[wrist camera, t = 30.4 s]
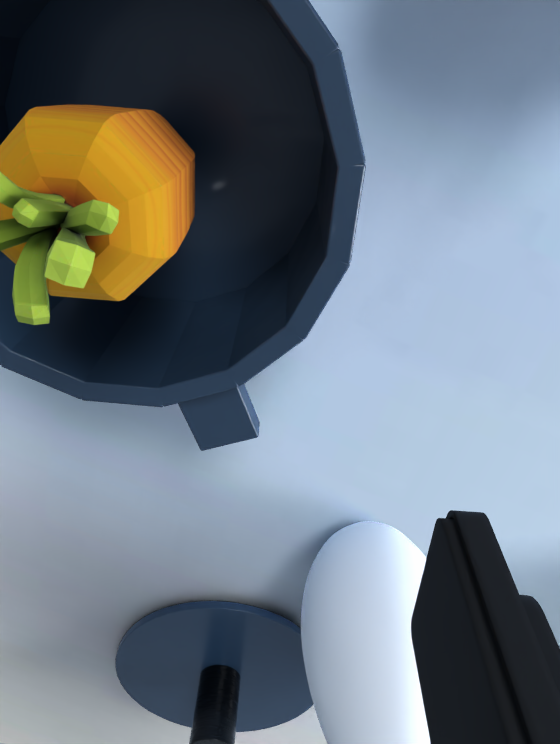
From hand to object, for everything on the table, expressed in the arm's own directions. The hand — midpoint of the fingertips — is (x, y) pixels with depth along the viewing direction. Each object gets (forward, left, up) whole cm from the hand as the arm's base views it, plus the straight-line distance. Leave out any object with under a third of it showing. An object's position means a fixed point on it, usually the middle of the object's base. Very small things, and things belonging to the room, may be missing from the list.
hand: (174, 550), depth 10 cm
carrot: (+3, -4, -17) cm, 18 cm away
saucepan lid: (+2, +32, -17) cm, 36 cm away
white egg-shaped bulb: (-7, +18, -18) cm, 26 cm away
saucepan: (+4, -4, -18) cm, 18 cm away
